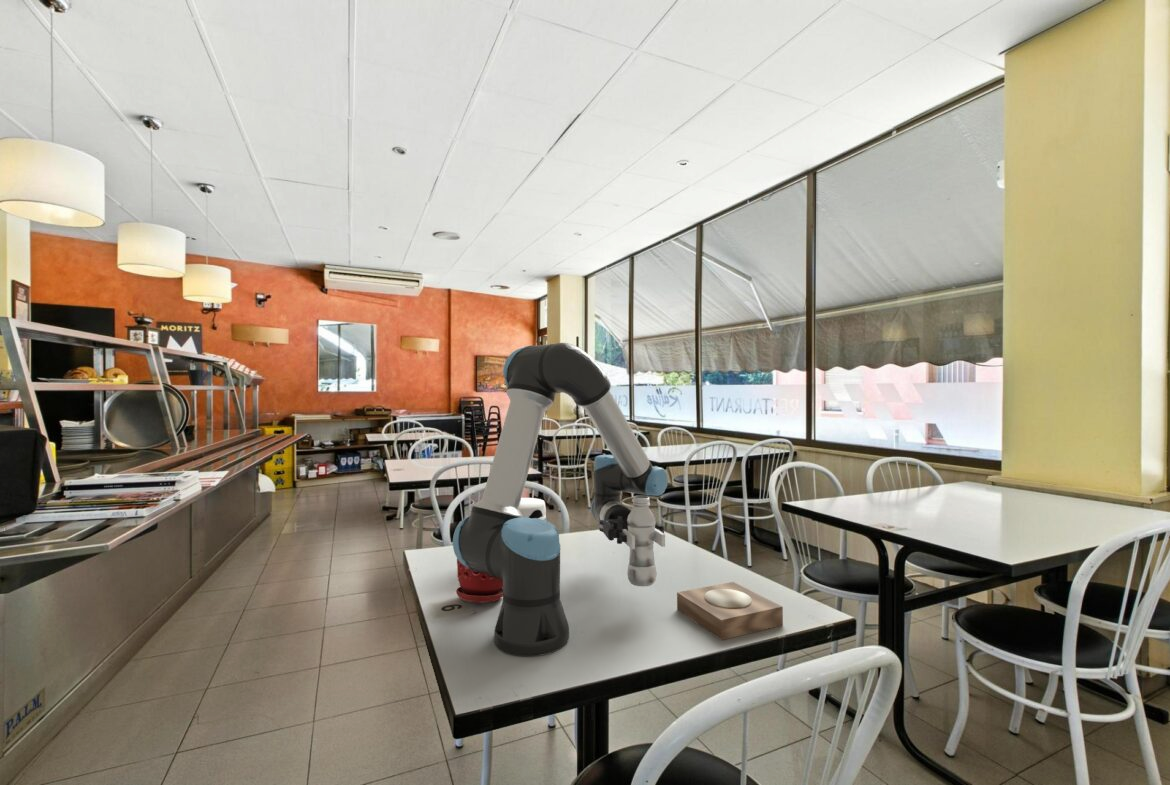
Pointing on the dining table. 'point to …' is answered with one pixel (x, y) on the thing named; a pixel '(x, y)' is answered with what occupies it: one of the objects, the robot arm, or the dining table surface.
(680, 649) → the dining table surface
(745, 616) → the walnut plinth
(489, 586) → the plant pot
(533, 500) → the milk container
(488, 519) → the robot arm
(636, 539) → the plastic bottle
